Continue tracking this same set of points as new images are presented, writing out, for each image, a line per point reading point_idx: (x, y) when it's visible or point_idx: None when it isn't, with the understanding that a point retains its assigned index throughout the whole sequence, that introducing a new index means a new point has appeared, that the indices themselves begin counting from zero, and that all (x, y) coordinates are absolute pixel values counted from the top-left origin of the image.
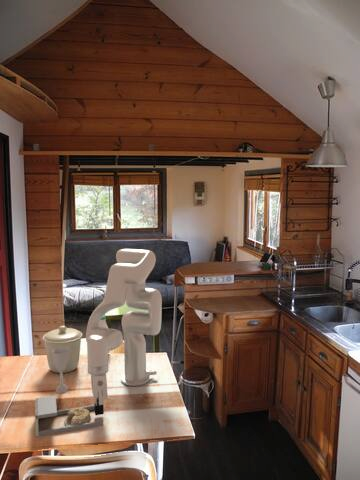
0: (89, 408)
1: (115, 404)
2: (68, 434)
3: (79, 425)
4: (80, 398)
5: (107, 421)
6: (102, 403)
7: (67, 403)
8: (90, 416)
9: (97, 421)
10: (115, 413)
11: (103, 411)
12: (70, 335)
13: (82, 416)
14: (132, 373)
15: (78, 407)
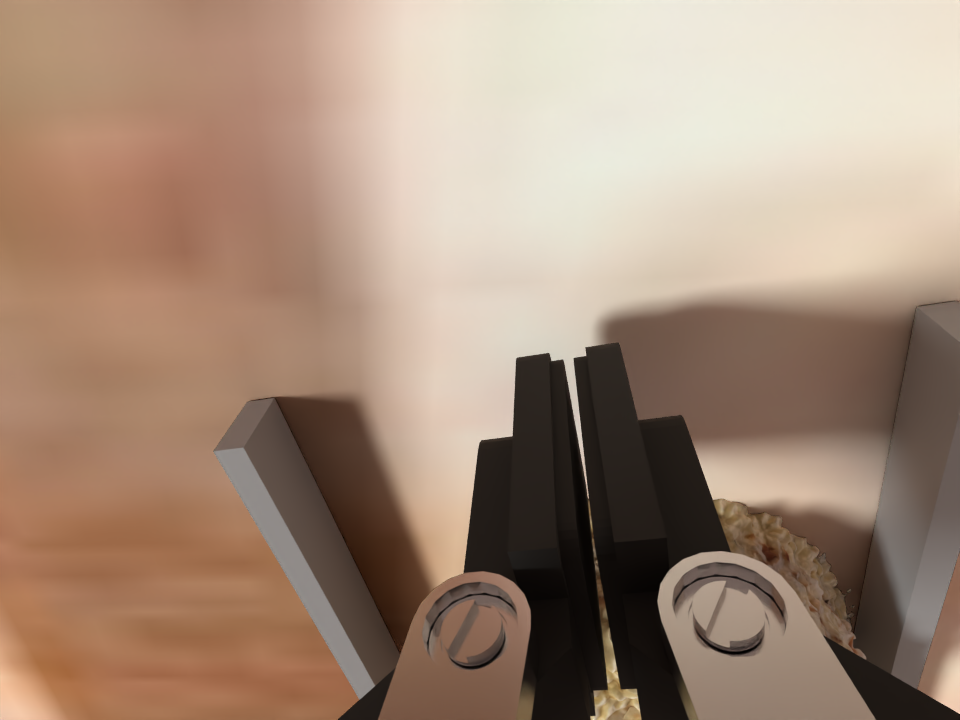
0: (326, 545)
1: (5, 30)
2: (951, 701)
3: (919, 674)
4: (19, 615)
5: (830, 209)
6: (812, 647)
7: (187, 711)
8: None
9: (952, 453)
10: (479, 4)
11: (625, 373)
12: None
13: None
14: None
15: (352, 685)
